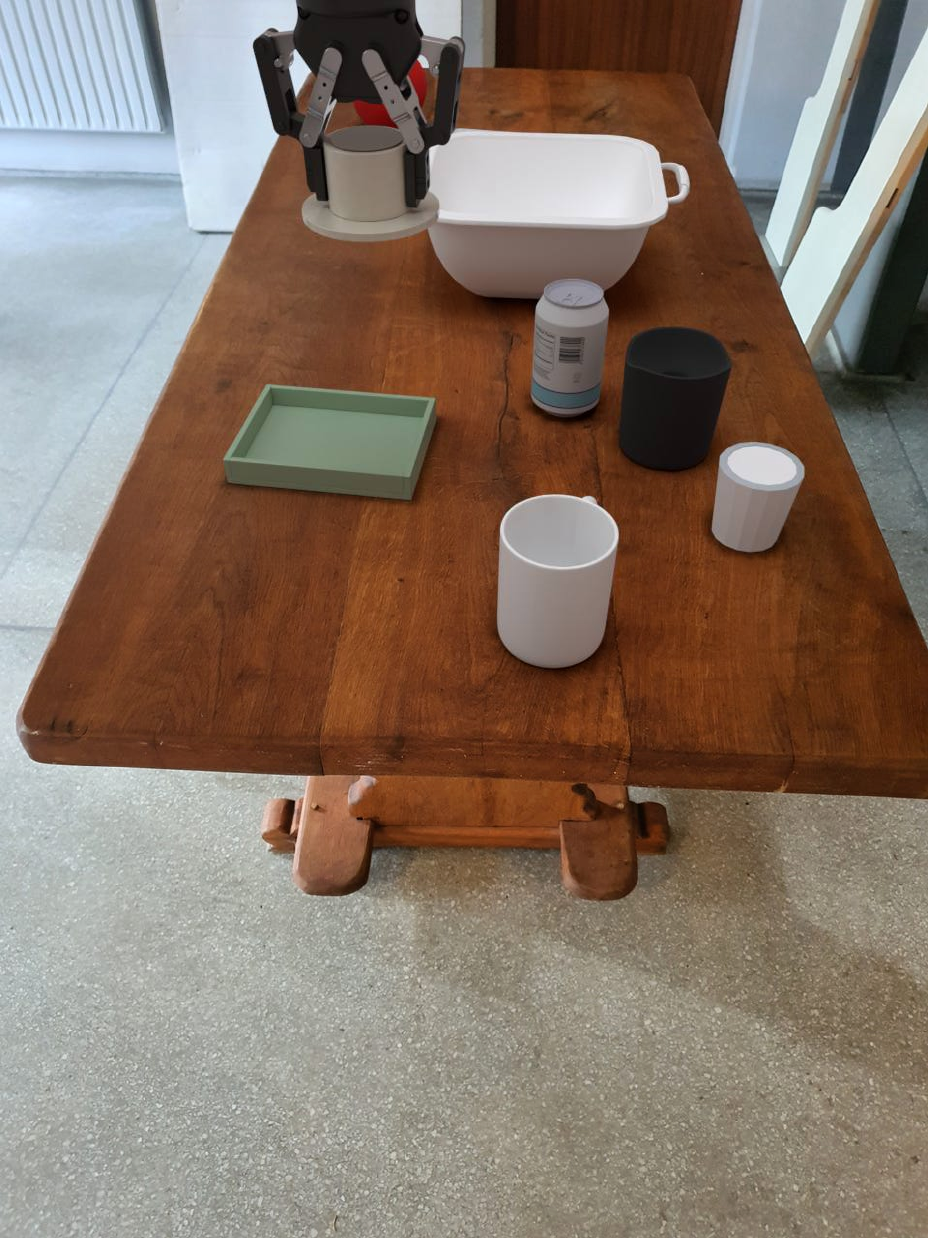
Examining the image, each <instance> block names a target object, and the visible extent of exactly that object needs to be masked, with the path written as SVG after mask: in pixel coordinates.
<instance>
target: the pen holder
mask: <svg viewBox="0 0 928 1238" xmlns="http://www.w3.org/2000/svg"><path fill="white" fill-rule="evenodd" d="M732 367H733V363H732V361H731V358H730V356H729V354H728V352H727V350H726V348H725V346H724V344H723V343H722V342H721V341H720V340H719V339H718V338H717V337H716V336H715V335H713V334H711V333H710V332H706V331H704V330H701V329H698V328H697V329H696V328H692V327H687V326H674V325H673V326H658V327H652V328H648V329H645V330H643V331H640V332H638V333H637V334H635V335H634V336H633V337H632V338H631V340H629V343H628V345H627V347H626V351H625V357H624V368H623V369H624V370H623V380H622V381H623V382H622V392H621V402H620V403H621V404H620V415H619V429H618V442H619V446H620V448H621V450H622V452H624V454H625V455H626V456H627V457H628V458H629V459H630V460H632V461H634V462H635V463H636V464H639V465H641V466H643V467H646V468H649V469H655V470H658V471H659V470H660V471H679V470H684V469H688V468H691V467H694V466H696V465H697V464H699V463H700V462H702V461H703V460H705V458H706V457H707V456H708V453H710V452H709V451H710V448H711V445H712V442H713V438H714V434H715V431H716V428H717V425H718V421H719V416H720V413H721V409H722V405H723V402H724V399H725V398H724V397H725V394H726V391H727V387H728V383H729V380H730V376H731V372H732V369H733V368H732Z"/></svg>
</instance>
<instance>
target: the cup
mask: <svg viewBox="0 0 928 1238" xmlns="http://www.w3.org/2000/svg"><path fill="white" fill-rule="evenodd" d="M619 533H620V532H619V527H618V525H617V523H616V521H615V519H614V518H613V516H612V515H611V514H610V513H609V512H608V511H607V510H606V509H604V508H603V507H601V506H600V505H598V502H597V499H596V498H595V497H593V496H591V495H585V496H583V497H578V496H574V495H568V494H567V495H566V494H543V495H537V496H534V497H533V496H532V497H530V498H526V499H524V500H521V501H520V502H518V503H516V504H515V505H513V506H512V507H511V508H510V509H509V510H508V511H507V512H506V513H505V515H503V517H502V520H501V522H500V526H499V546H498V547H499V551H498V577H497V581H498V582H497V604H496V605H497V606H496V607H497V609H496V611H497V612H496V625H497V626H496V627H497V632H498V636H499V638H500V641H501V643H502V644H503V645H504V647H505V648H506V649H507V650H508V651H509V652H510V654H512V655H513V656H514V657H516V658H517V659H518V660H520V661H522V662H524V663H526V664H529V665H533V666H535V667H540V668H544V669H545V668H546V669H562V668H567V667H571V666H576V665H577V664H579V663H581V662H584V661H585V660H587V659H588V658H589V657H591V656H592V655H593V654H594V653H595V652H596V651H597V649H598V648H599V647H600V645H601V644H602V641H603V638H604V635H605V632H606V626H607V619H608V613H609V606H610V600H611V592H612V587H613V579H614V571H615V566H616V565H615V564H616V558H617V552H618V546H619V538H620V534H619Z"/></svg>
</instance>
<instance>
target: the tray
mask: <svg viewBox="0 0 928 1238" xmlns="http://www.w3.org/2000/svg"><path fill="white" fill-rule="evenodd" d="M436 423H437V398H436V397H429V396H428V397H427V396H418V395H417V396H415V395H405V394H404V395H402V394H393V393H381V392H379V393H378V392H368V391H356V390H343V389H332V388H331V389H330V388H319V387H309V386H308V387H306V386H295V385H294V386H293V385H281V384H270V383H266V384H265V386H264V388H263V390H262V391H261V393H260V394H259V396H258V398H257V400H256V401H255V403H254V405H253V406H252V409H251V411H250V412H249V414H248V415H247V417H246V419H245V421H244V422H243V424H242V426H241V427H240V428H239V431H238V433H237V434H236V436H235V438H234V439H233V441H232V443H231V445H230V446H229V448H228V450H227V452H226V453H225V455H224V457H223V459H222V463H223V467H224V473H225V476H226V482H227V484H233V485H234V484H235V485H247V486H256V487H265V488H266V487H267V488H276V489H277V488H278V489H289V490H300V491H307V492H308V491H310V492H318V493H319V492H320V493H330V494H340V495H341V494H342V495H349V496H352V495H353V496H361V497H371V498H372V497H373V498H384V499H393V500H394V499H395V500H404V501H412V498H413V496H414V492H415V490H416V486H417V483H418V479H419V477H420V473H421V469H422V467H423V464H424V461H425V458H426V454H427V451H428V448H429V444H430V441H431V439H432V435H433V432H434V429H435V426H436Z"/></svg>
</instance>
